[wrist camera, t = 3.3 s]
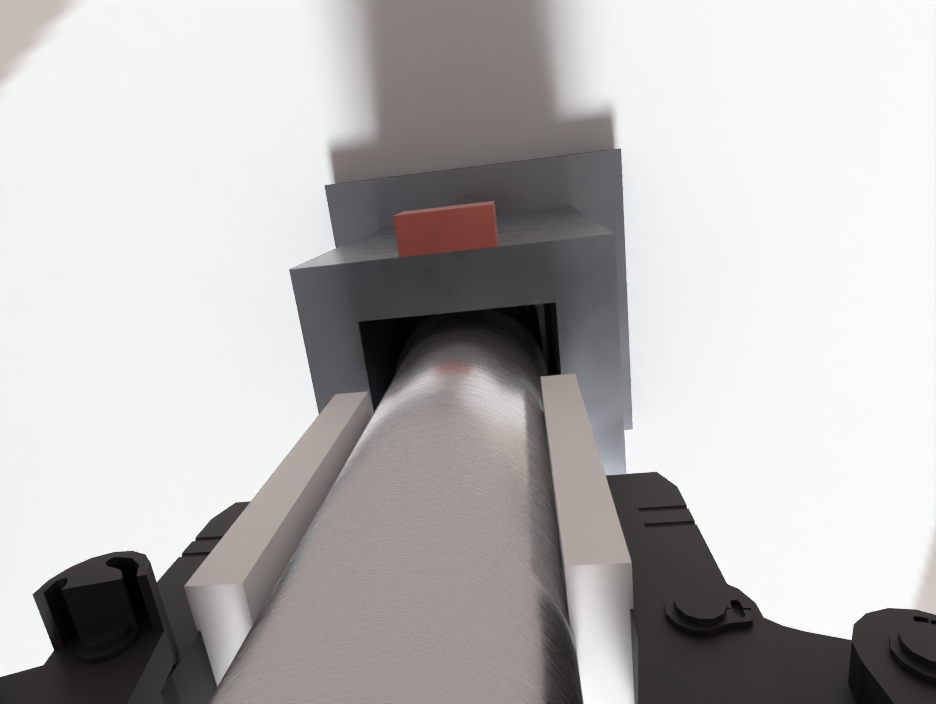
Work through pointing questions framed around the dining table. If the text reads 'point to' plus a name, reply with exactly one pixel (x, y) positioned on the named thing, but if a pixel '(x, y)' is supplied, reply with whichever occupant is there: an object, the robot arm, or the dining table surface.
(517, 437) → the column
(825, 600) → the dining table surface
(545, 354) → the stand base
